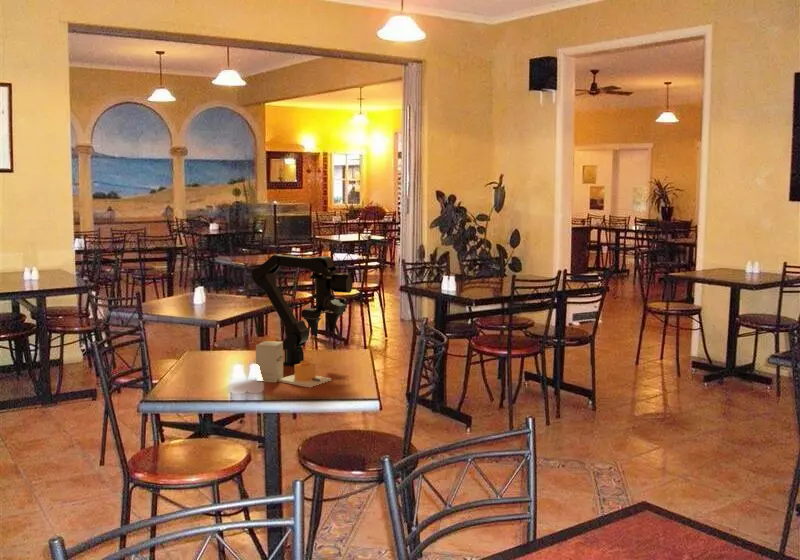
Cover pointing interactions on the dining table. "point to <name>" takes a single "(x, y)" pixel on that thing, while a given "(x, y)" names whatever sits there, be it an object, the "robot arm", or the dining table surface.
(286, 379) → the cream base plate
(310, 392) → the dining table surface
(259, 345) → the supplement box
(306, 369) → the orange domed cube
